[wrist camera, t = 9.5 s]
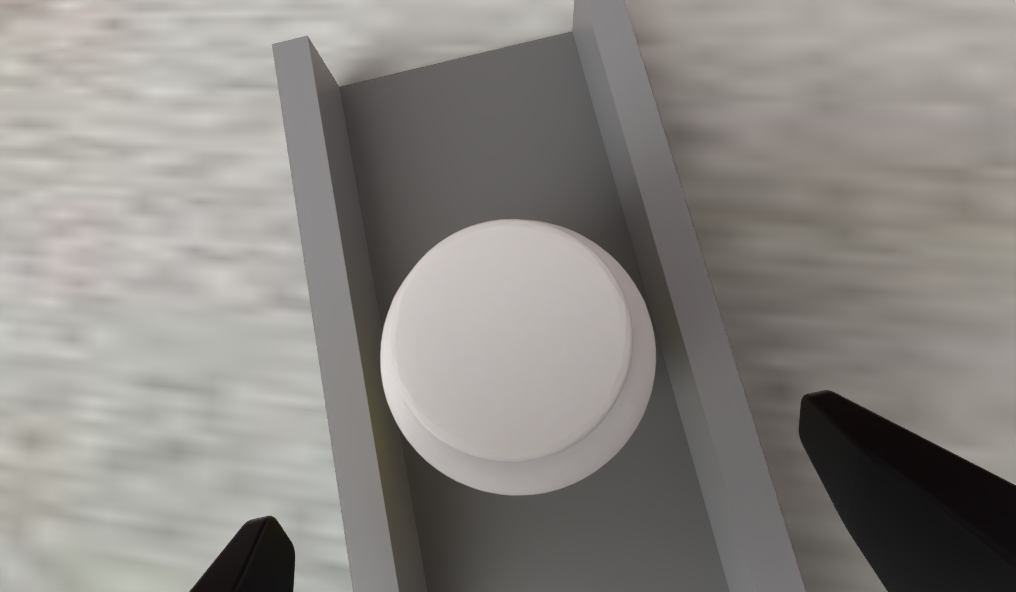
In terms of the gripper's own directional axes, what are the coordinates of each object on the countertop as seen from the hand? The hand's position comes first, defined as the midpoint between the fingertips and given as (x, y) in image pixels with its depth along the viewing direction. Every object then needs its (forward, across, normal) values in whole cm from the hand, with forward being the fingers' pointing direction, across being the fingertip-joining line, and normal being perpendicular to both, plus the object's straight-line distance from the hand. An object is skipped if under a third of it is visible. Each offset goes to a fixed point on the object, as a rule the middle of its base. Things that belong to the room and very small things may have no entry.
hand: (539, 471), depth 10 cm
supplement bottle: (+8, 0, +5) cm, 10 cm away
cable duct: (+9, 0, +5) cm, 10 cm away
